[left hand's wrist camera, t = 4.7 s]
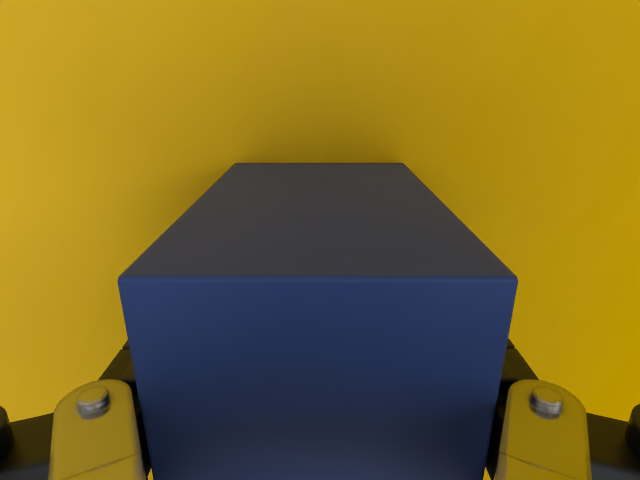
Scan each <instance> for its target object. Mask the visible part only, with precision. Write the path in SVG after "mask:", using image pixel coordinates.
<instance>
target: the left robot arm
mask: <svg viewBox="0 0 640 480" xmlns="http://www.w3.org/2000/svg"><path fill="white" fill-rule="evenodd" d="M485 467H486V469H487V471H488V473H489V476H490V478H491V480H640V404H639V405H637V406H635V407H634V408H633V410H632V412H631V416H630V419H629V422H626V421H621V420H617V419H612V418H608V417H603V416H598V415H594V414H590V413H586V411H585V408H584V406H583V404H582V403H581V402H580V400H578V399H577V398H576V397H575V396H574V395H573V394H572V393H570V392H569V391H567V390H566V389H564V388H562V387H560V386H557V385H555V384H552V383H549V382H546V381H541V380H539V379H538V378H537V376H536V375H535V374H534V372H533V371H532V370H531V368H530V367H529V365H528V364H527V363H526V361H525V360H524V359H523V357H522V356H521V355H520V353H519V352H518V350H517V349H515V346H514V345H513V344H512V342H511V341H510V339H508V340H507V346H506V352H505V357H504V363H503V369H502V374H501V380H500V386H499V391H498V397H497V402H496V408H495V414H494V419H493V425H492V431H491V436H490V442H489V448H488V453H487V459H486V464H485ZM150 469H151V462H150V457H149V451H148V446H147V440H146V435H145V429H144V424H143V418H142V413H141V407H140V402H139V396H138V391H137V385H136V380H135V374H134V369H133V363H132V358H131V352H130V347H129V341H128V340H127V342H126V343H125V345H124V346H123V349H122V350H120V351H119V353H118V354H117V355H116V357H115V358H114V359H113V361H112V362H111V363H110V365H109V366H108V368H107V369H106V370H105V372H104V373H103V374H102V376H101V377H100V378H99V380H98V381H94V382H91V383H88V384H85V385H83V386H80V387H78V388H76V389H74V390H73V391H71V392H70V393H68V394H67V395H66V396H65V397H64V398H63V399H62V400H61V401H60V402H59V403H58V404H57V406H56V408H55V411H54V412H53V413H50V414H47V415H43V416H38V417H33V418H29V419H24V420H20V421H15V422H11V423H10V422H9V419H8V416H7V413H6V411H5V409H4V408H3V407H1V406H0V480H148V477H147V476H148V474H149V472H150Z"/></svg>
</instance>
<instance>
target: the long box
mask: <svg viewBox="0 0 640 480" xmlns="http://www.w3.org/2000/svg"><path fill="white" fill-rule="evenodd" d="M517 284H518V279H517V276H516V275H515V274H514V273H513V272H512V271H511V270H510V269H509V268H508V267H507V266H506V265H505V264H504V263H503V262H502V261H501V260H500V259H499V258H498V257H497V256H496V255H495V254H494V253H493V252H492V251H491V250H490V249H489V248H488V247H487V246H486V245H485V244H484V243H483V242H482V241H481V240H480V239H479V238H478V237H477V236H476V235H475V234H474V233H473V232H472V231H471V230H470V229H469V228H468V227H467V226H466V225H465V224H464V223H463V222H462V221H460V220H459V219H458V218H457V217H456V216H455V215H454V214H453V213H452V212H451V211H450V210H449V209H448V208H447V207H446V206H445V205H444V204H443V203H442V202H441V201H440V200H439V199H438V198H437V197H436V196H435V195H434V194H433V193H432V192H431V191H430V190H429V189H428V188H427V187H426V186H425V185H424V184H423V183H422V182H421V181H420V180H419V179H418V178H417V177H416V176H415V175H414V174H413V173H412V172H411V171H410V170H409V169H408V168H407V167H406V166H405V165H404V164H403V163H236V164H234V165H233V166H232V167H231V168H230V169H229V170H228V171H227V172H226V173H225V174H224V175H223V176H222V177H221V178H220V179H219V180H218V181H217V182H216V183H215V184H214V185H212V186H211V187H210V188H209V189H208V190H207V191H206V192H205V193H204V194H203V195H202V196H201V197H200V198H199V199H198V200H197V201H196V202H195V203H194V204H193V205H192V206H191V207H190V208H189V209H188V210H187V211H186V212H185V213H184V214H183V215H182V216H181V217H180V218H179V219H178V220H177V221H175V222H174V223H173V224H172V225H171V226H170V227H169V228H168V229H167V230H166V231H165V232H164V233H163V234H162V235H161V236H160V237H159V238H158V239H157V240H156V241H155V242H154V243H153V244H152V245H151V246H150V247H149V248H148V249H147V250H146V251H145V252H144V253H143V254H142V255H141V256H140V257H139V258H137V259H136V260H135V261H134V262H133V263H132V264H131V265H130V266H129V267H128V268H127V269H126V270H125V271H124V272H123V273H122V274H121V275H120V276H119V278H118V286H119V292H120V297H121V303H122V308H123V314H124V319H125V325H126V330H127V336H128V341H129V347H130V352H131V358H132V363H133V369H134V374H135V380H136V385H137V391H138V396H139V402H140V407H141V413H142V418H143V424H144V429H145V435H146V440H147V446H148V451H149V457H150V462H151V468H152V473H153V479H154V480H483V476H484V470H485V464H486V459H487V453H488V448H489V442H490V436H491V431H492V425H493V419H494V414H495V408H496V402H497V397H498V391H499V386H500V380H501V374H502V369H503V363H504V357H505V352H506V346H507V340H508V335H509V329H510V324H511V318H512V312H513V307H514V301H515V295H516V290H517Z"/></svg>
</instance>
